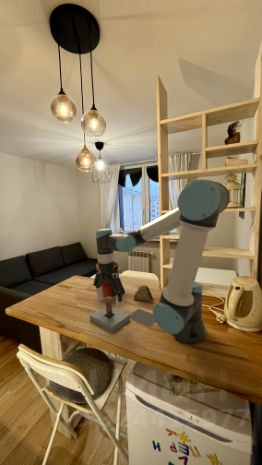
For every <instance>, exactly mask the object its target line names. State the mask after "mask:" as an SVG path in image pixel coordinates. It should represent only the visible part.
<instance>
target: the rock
mask: <svg viewBox="0 0 262 465" xmlns="http://www.w3.org/2000/svg"><path fill="white" fill-rule="evenodd" d="M152 294H153V293H152V292H151V290H150V288H149V287H148V285H146V284H143V285H140V286H139V288H138V289H137V291H135V292H134V296H133V300H134V301H148V302H149V301H151V300H152V299H153V296H152Z"/></svg>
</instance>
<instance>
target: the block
mask: <svg viewBox="0 0 262 465" xmlns="http://www.w3.org/2000/svg"><path fill="white" fill-rule="evenodd" d="M112 312H113V316H112V317H111V318H107V314H106V305H104V306H103V307H102V308H100V309H99V308H98V310H96V311H95V312H93V313H91V314H89V321H91V322H93V323H94V324H96V325H98V326H100V327H102V328H103V329H105V330H107V331H109V332H110V333H114V332H115V331H117V330H118V329H119V328H122V326H124V325H125V324H126V323H128V322H129V321H131V319H130V314H128V313H126V312H123V311H122V310H120V309H117V308H115V307H113V306H112Z"/></svg>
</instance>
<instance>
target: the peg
mask: <svg viewBox="0 0 262 465" xmlns="http://www.w3.org/2000/svg"><path fill="white" fill-rule="evenodd" d="M105 306H106V314H107V318H111V317H112V316H113V312H112V307H113V298H112V297H110V296H109V297H106V298H105Z"/></svg>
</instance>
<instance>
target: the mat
mask: <svg viewBox="0 0 262 465" xmlns="http://www.w3.org/2000/svg"><path fill="white" fill-rule="evenodd" d="M129 315H130V320H132V321H134V322H137V323H139V324H141V325H143V326H145V327H147V328H150V327H152V326H153V325H154V324H155V323H156V322H155V320H154V318H153V313H150V312H148V311H147V310H144V309H141V308H138V309H136V310H135V311H133V312H131V313H129Z"/></svg>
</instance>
